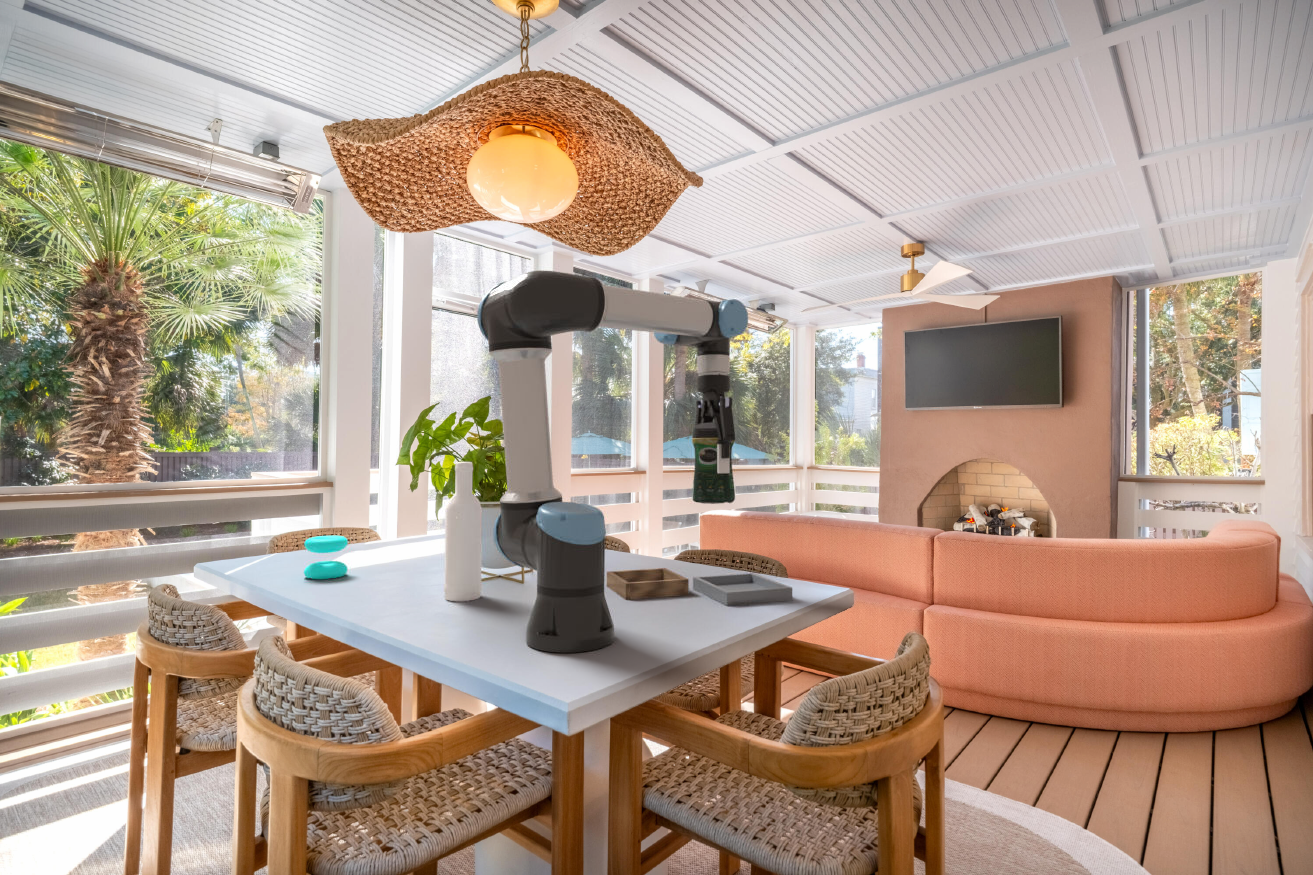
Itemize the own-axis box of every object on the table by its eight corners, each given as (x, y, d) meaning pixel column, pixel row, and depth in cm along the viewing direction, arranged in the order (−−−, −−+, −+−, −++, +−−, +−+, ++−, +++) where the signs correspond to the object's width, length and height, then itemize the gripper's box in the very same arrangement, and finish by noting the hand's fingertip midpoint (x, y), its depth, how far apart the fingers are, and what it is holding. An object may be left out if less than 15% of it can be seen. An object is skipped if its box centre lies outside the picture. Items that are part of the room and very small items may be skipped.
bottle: (474, 592, 155) (476, 461, 155) (486, 598, 148) (487, 462, 148) (439, 596, 150) (440, 461, 151) (449, 603, 144) (451, 462, 144)
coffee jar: (738, 502, 158) (738, 422, 158) (729, 504, 150) (729, 421, 150) (698, 500, 161) (698, 423, 161) (688, 503, 154) (688, 422, 154)
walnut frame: (625, 599, 148) (625, 583, 148) (606, 586, 162) (606, 571, 162) (688, 594, 153) (688, 579, 153) (664, 582, 167) (664, 567, 167)
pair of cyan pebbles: (302, 536, 174) (345, 533, 179) (302, 575, 174) (344, 571, 179) (306, 541, 165) (350, 538, 171) (305, 581, 165) (350, 577, 171)
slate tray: (726, 605, 143) (726, 592, 143) (693, 588, 160) (693, 576, 160) (792, 600, 148) (792, 587, 148) (752, 584, 165) (753, 572, 165)
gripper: (751, 371, 147) (751, 474, 147) (707, 379, 167) (707, 470, 167) (720, 369, 144) (720, 474, 144) (679, 378, 165) (679, 470, 164)
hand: (713, 472), depth 156 cm, fingers closed on coffee jar, 9 cm apart
